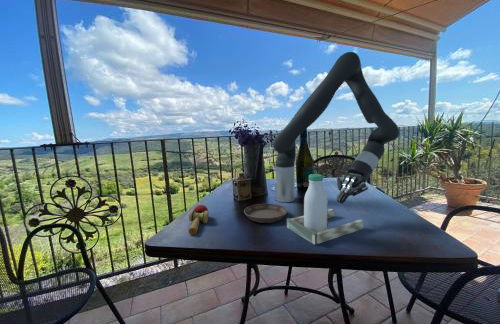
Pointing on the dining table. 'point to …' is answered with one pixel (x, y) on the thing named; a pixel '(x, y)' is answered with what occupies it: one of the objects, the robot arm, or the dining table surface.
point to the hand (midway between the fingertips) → (339, 201)
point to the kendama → (198, 217)
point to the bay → (325, 235)
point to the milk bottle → (316, 205)
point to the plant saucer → (265, 212)
